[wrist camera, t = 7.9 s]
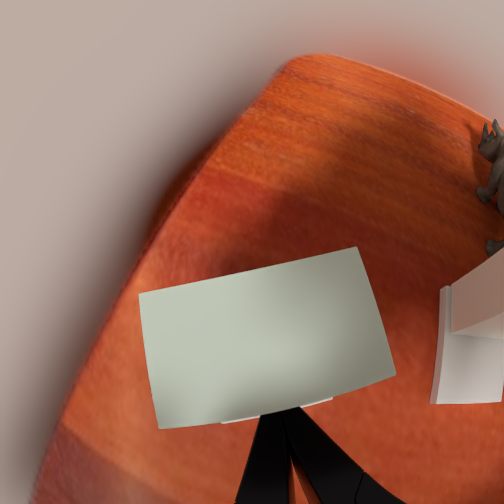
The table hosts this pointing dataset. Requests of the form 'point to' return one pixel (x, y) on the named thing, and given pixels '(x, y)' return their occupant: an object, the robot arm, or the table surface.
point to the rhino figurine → (493, 175)
